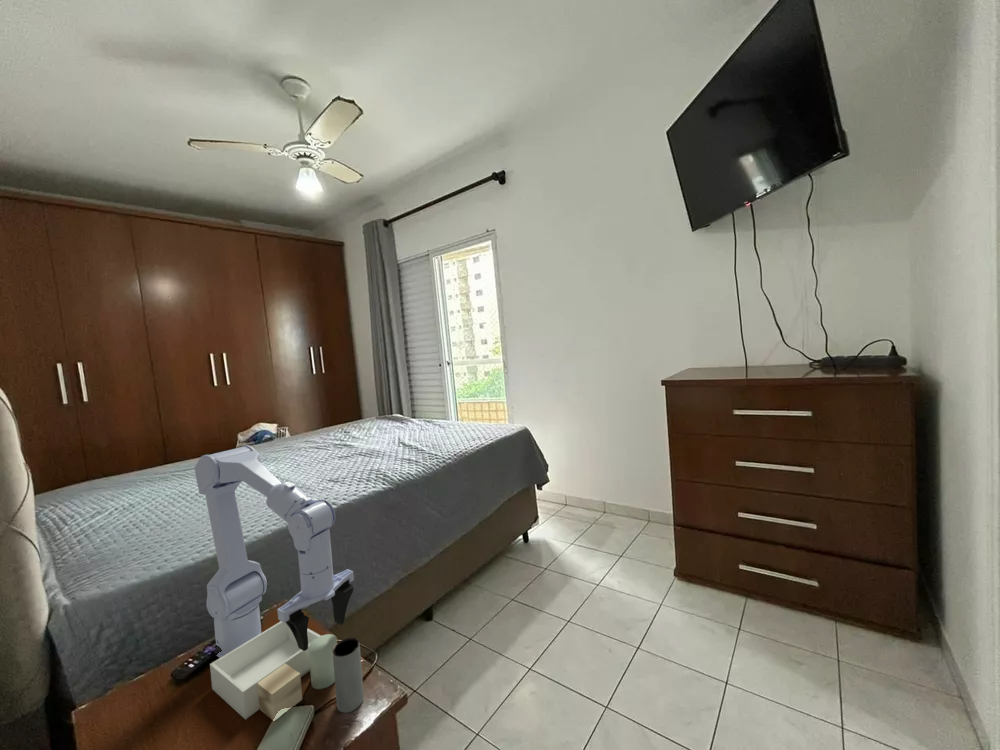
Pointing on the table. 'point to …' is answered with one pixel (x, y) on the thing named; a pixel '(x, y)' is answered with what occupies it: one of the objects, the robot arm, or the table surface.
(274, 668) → the tote
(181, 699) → the table surface
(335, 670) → the planter
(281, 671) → the cube
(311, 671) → the canister
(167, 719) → the table surface
